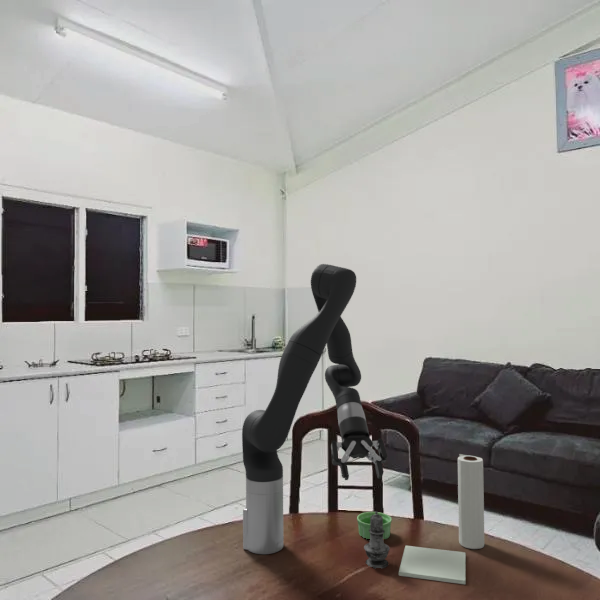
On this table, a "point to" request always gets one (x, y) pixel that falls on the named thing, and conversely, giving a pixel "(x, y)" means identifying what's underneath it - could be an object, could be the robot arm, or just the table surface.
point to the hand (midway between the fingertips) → (363, 477)
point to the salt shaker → (376, 544)
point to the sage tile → (433, 564)
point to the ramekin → (365, 524)
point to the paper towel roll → (471, 501)
